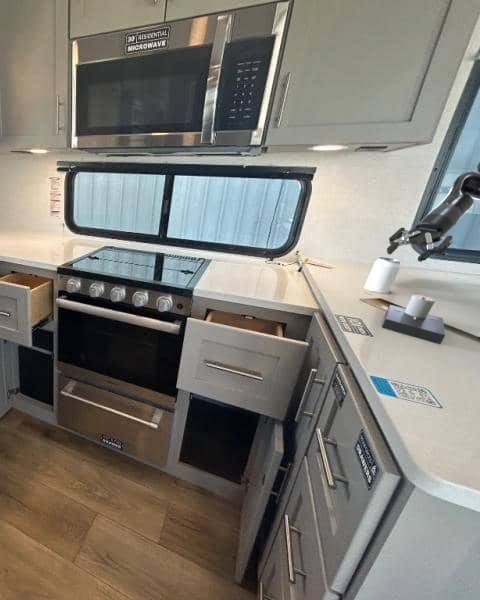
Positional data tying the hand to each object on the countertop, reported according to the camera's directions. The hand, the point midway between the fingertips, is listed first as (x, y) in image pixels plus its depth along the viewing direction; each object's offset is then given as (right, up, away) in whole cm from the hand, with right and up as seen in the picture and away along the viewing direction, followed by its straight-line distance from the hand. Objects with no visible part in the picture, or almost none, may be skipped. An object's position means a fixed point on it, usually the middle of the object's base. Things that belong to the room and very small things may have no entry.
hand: (403, 256), depth 109 cm
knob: (-16, -19, -20) cm, 32 cm away
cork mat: (-11, -17, -8) cm, 22 cm away
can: (-7, -13, +3) cm, 15 cm away
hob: (-19, -22, -21) cm, 36 cm away
